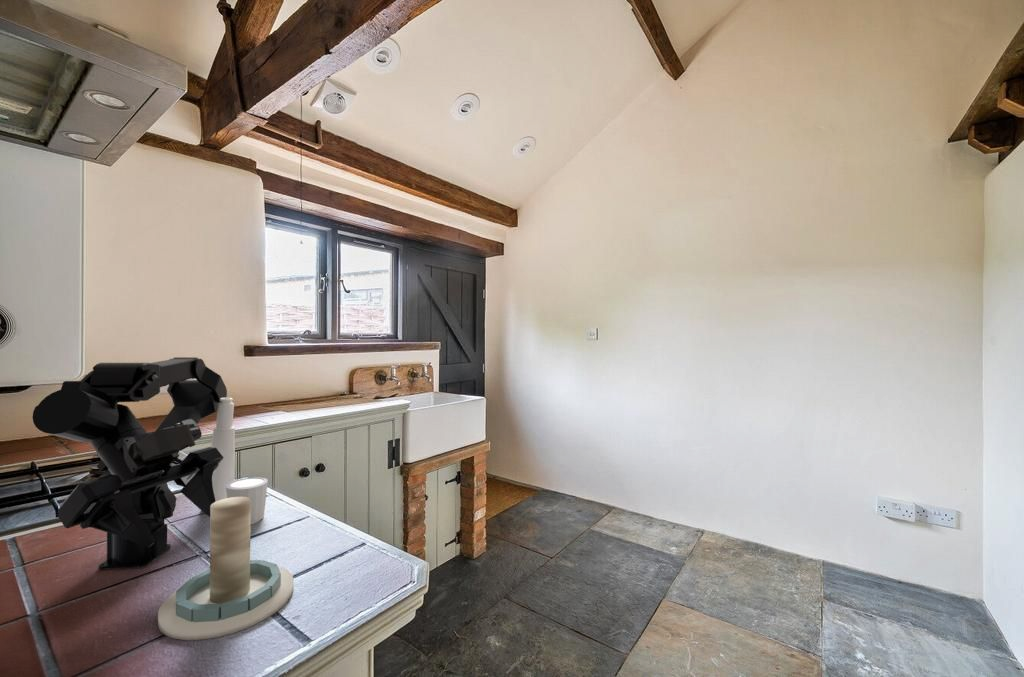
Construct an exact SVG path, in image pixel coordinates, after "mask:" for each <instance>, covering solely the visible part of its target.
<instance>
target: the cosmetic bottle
mask: <svg viewBox="0 0 1024 677" xmlns="http://www.w3.org/2000/svg"><path fill="white" fill-rule="evenodd" d="M233 400H234V398H232V397H226V398H220V403H218V408H217V411H216V425H215V427H213V431H212V436H211V437H212V438H211V444H210V445H211V446H210V447H213V448H217V450H218V451H219V452H220V453H221V455H222V456H223V457H224V458H223V459H222V460H221V462H220V463H219V466H218V467H217V468H216V469H215V470H214V472H213V475H212V485H213V491H214V496H215V501H219V500H222V499H226V498H227V494H226V485H227V484H229V483H230V482H233V481H236V480H235V464H236V463H235V461H236V459H235V458H236V456H235V454H236V452H235V451H236V450H235V448H236V427H235V426H234V425H233V423H234V413H235V412H234V410H235V403H234V402H233Z"/></svg>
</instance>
